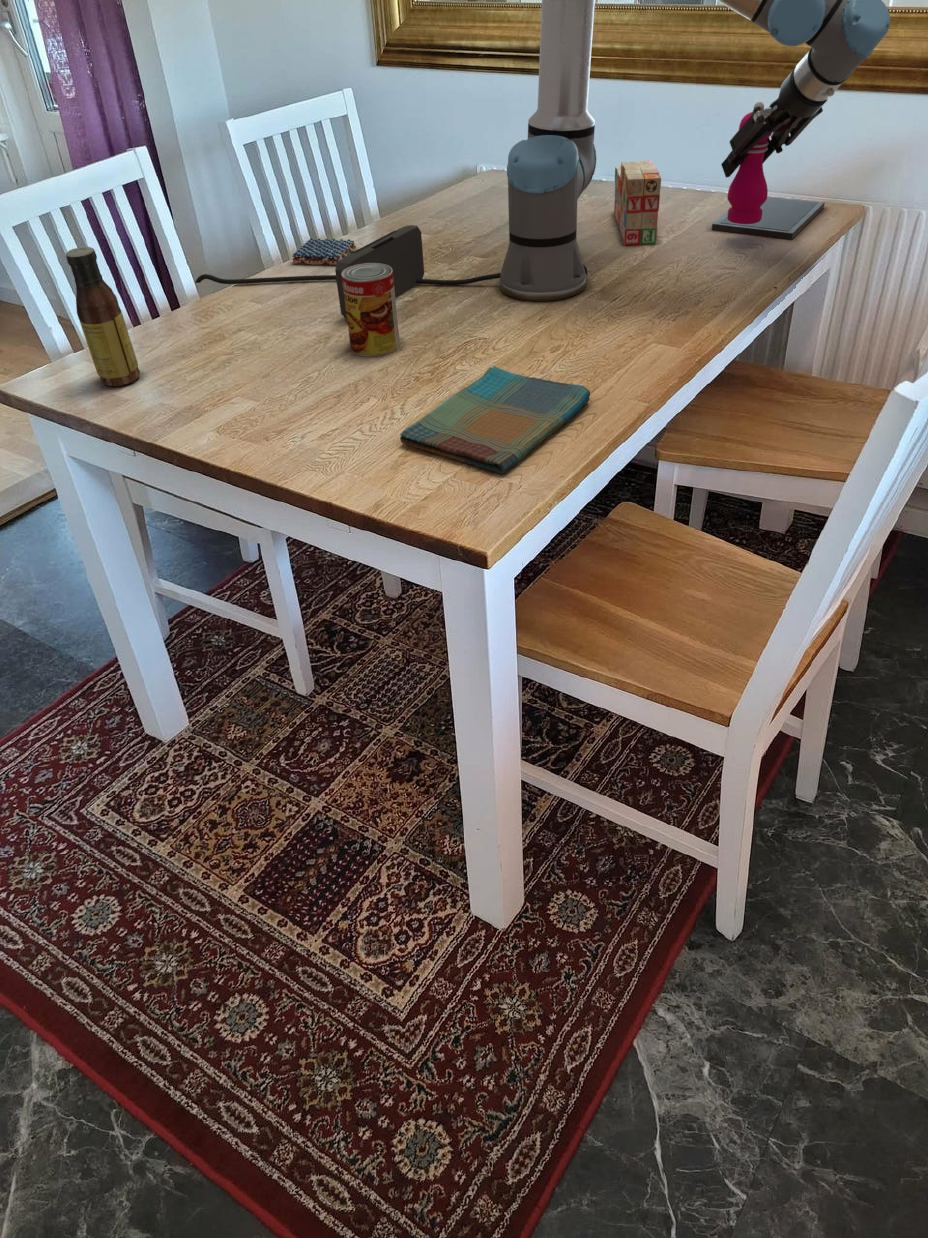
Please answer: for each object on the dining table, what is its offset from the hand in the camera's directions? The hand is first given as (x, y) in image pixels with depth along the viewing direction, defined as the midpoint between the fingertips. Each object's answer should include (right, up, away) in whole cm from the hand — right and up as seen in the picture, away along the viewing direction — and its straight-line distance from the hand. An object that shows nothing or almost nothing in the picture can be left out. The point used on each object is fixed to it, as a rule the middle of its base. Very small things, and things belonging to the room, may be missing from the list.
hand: (738, 168), depth 181 cm
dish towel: (-46, -58, -48) cm, 88 cm away
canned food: (-65, -41, -25) cm, 81 cm away
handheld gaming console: (-65, -28, -9) cm, 72 cm away
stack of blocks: (-17, -5, +15) cm, 23 cm away
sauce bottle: (-105, -47, -31) cm, 119 cm away
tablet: (+11, -3, +15) cm, 19 cm away
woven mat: (-79, -13, +11) cm, 80 cm away
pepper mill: (+2, -9, +3) cm, 9 cm away
